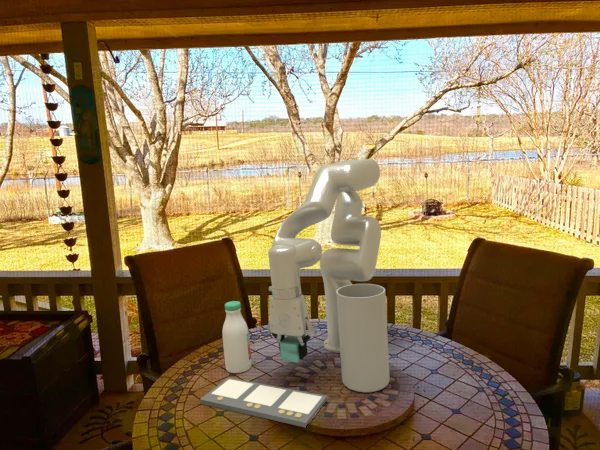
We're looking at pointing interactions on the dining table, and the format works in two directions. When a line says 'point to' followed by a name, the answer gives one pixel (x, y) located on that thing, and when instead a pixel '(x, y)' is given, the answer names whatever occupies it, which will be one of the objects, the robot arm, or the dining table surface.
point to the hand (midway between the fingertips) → (293, 355)
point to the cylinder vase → (363, 337)
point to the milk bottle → (236, 339)
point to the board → (265, 401)
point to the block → (290, 349)
